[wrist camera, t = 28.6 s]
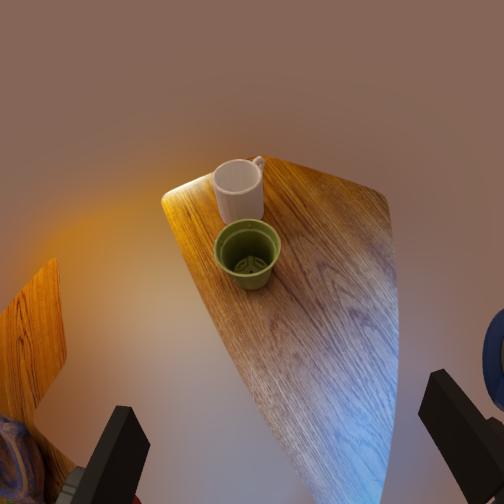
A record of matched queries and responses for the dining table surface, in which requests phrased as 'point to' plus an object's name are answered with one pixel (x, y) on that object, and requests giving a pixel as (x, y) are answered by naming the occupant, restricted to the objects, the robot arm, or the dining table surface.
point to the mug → (239, 189)
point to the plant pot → (247, 252)
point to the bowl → (20, 464)
